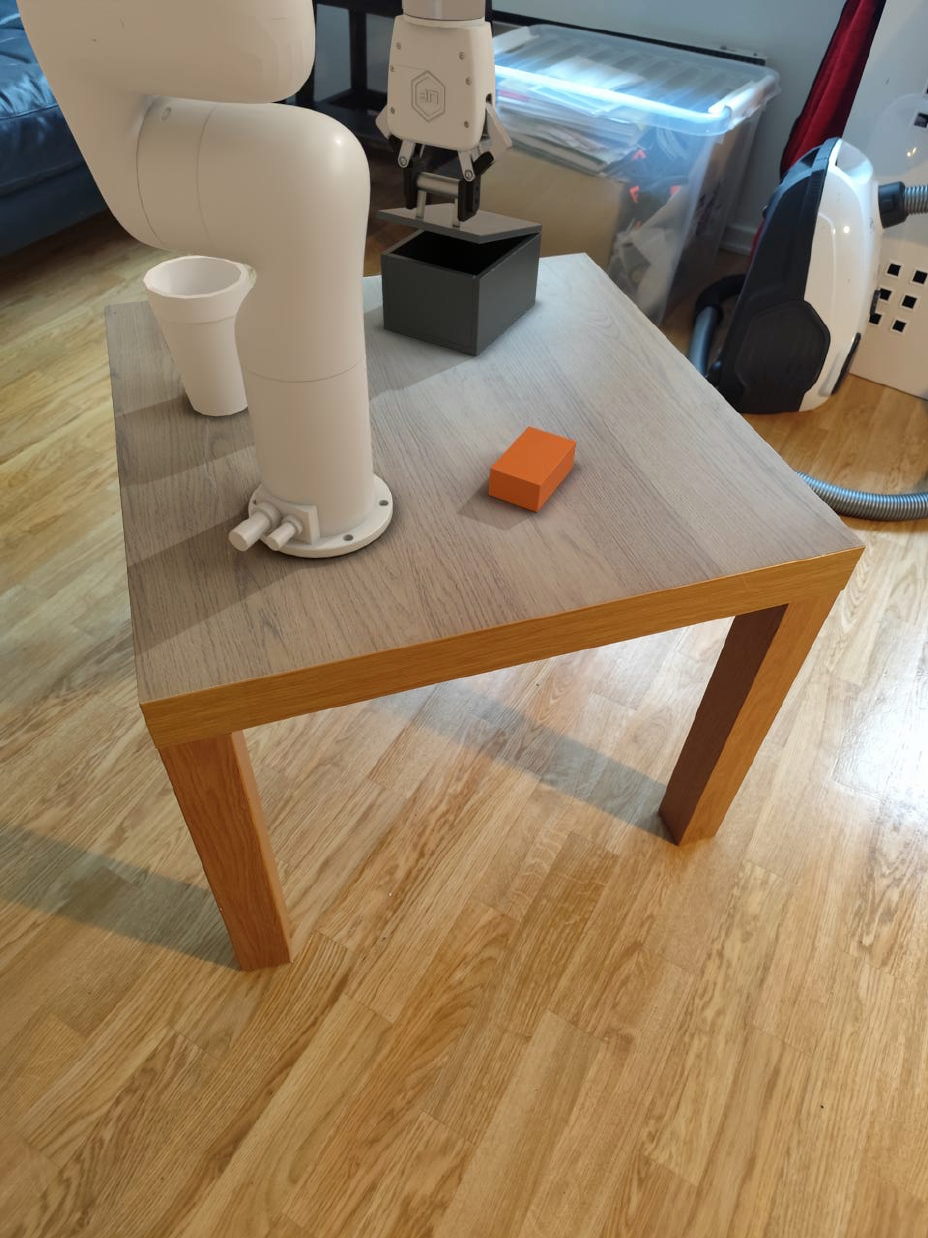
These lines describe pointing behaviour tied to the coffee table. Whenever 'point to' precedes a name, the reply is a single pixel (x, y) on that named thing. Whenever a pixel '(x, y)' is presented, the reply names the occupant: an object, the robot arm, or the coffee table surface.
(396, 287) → the bin
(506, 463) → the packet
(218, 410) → the foam cup
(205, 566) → the coffee table surface
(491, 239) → the lid
